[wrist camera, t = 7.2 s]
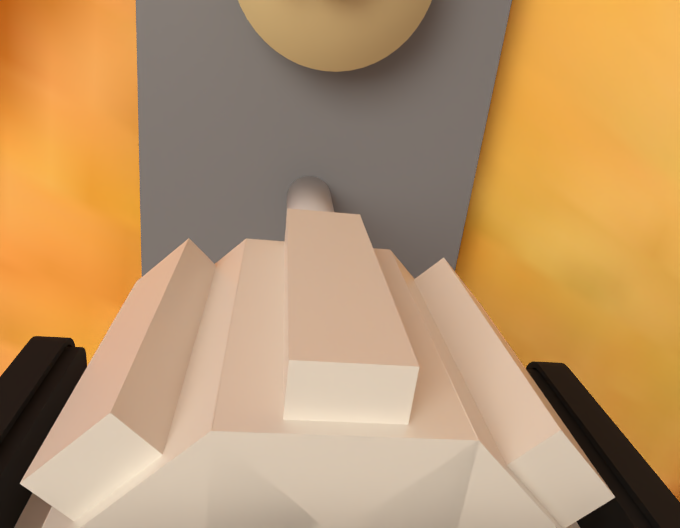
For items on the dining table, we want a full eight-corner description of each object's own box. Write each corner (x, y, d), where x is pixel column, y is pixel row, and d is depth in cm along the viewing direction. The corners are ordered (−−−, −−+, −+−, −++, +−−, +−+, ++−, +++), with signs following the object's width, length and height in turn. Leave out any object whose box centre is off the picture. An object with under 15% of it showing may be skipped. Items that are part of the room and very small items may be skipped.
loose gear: (530, 225, 10) (735, 394, 5) (452, 535, 13) (545, 822, 8) (95, 188, 9) (-96, 353, 5) (111, 530, 12) (2, 850, 7)
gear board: (521, -119, 19) (652, -195, 12) (412, 419, 27) (452, 555, 20) (144, -179, 17) (48, -302, 11) (153, 407, 26) (102, 549, 19)
